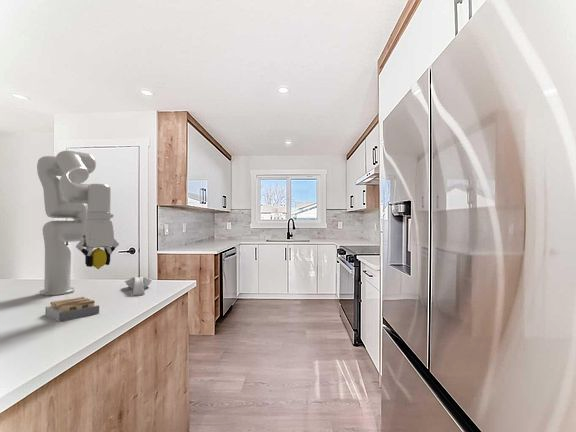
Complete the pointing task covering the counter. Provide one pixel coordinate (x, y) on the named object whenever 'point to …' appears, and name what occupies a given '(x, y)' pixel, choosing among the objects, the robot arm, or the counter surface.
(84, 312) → the dock
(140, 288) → the spoon rest
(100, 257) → the lemon
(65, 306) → the pallet
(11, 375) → the counter surface
